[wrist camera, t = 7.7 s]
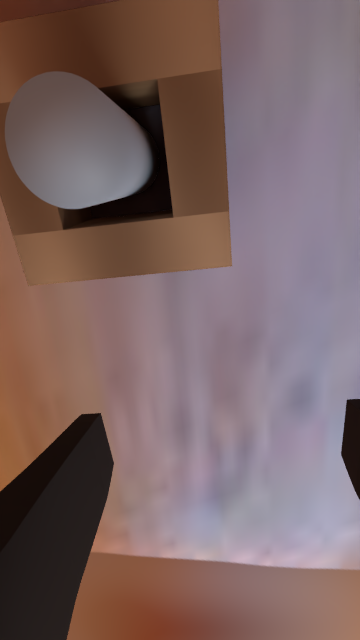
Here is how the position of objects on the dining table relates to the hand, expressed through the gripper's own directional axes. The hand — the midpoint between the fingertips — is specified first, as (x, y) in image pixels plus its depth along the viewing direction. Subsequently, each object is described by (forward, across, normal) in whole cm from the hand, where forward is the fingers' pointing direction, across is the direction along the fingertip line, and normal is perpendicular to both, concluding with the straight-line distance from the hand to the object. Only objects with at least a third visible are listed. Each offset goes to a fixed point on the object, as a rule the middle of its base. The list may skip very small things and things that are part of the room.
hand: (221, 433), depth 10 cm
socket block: (+10, +4, -8) cm, 13 cm away
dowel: (+10, +4, -8) cm, 13 cm away
